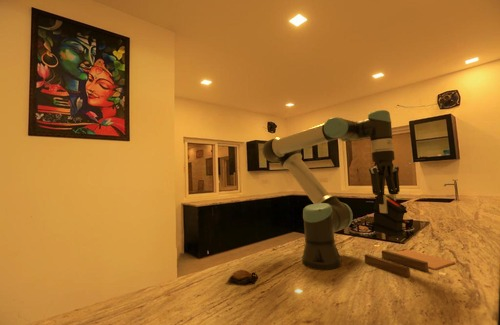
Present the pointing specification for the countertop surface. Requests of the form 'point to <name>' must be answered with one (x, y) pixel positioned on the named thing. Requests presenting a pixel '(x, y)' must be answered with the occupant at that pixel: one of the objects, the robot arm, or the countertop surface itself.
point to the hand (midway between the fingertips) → (388, 212)
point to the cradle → (394, 266)
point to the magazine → (389, 218)
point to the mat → (427, 259)
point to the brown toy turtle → (242, 278)
